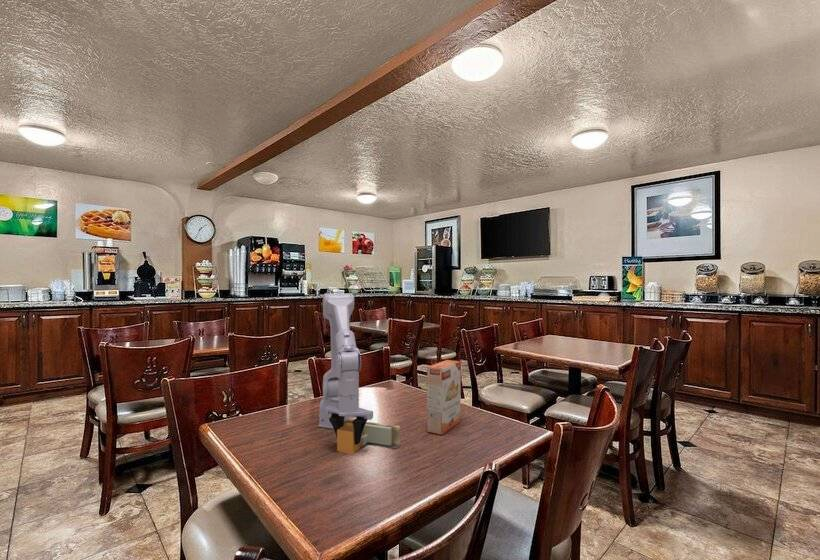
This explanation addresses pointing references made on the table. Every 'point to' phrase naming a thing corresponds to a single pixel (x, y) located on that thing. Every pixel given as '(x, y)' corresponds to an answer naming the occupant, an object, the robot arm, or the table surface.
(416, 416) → the table surface
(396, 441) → the wooden track base
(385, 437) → the sliding gate
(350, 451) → the block
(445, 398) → the cracker box
